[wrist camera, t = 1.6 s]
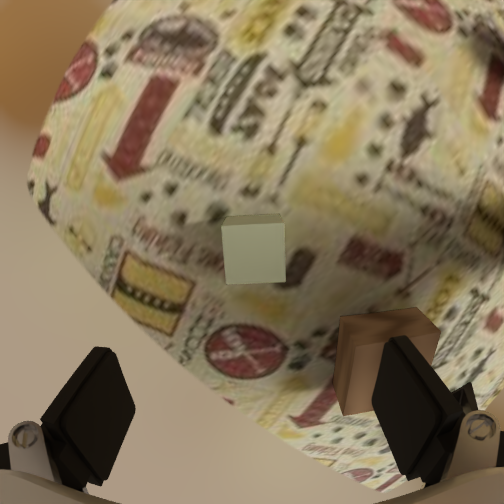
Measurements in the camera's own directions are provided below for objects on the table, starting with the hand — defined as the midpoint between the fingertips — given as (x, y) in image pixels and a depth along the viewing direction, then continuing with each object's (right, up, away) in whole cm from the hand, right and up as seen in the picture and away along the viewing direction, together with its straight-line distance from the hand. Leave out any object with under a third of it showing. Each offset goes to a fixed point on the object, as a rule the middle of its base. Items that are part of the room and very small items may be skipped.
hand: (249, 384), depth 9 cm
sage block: (0, +6, +20) cm, 20 cm away
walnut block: (+15, -7, +23) cm, 28 cm away
